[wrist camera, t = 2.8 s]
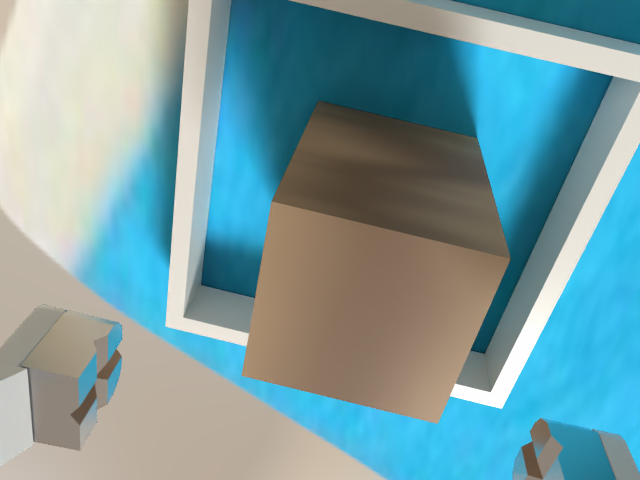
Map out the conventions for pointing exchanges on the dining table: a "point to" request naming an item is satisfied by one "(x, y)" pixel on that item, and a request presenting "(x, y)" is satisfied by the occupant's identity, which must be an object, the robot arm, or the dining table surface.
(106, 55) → the dining table surface
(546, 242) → the white square frame
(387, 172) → the walnut block
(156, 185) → the dining table surface
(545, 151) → the dining table surface
